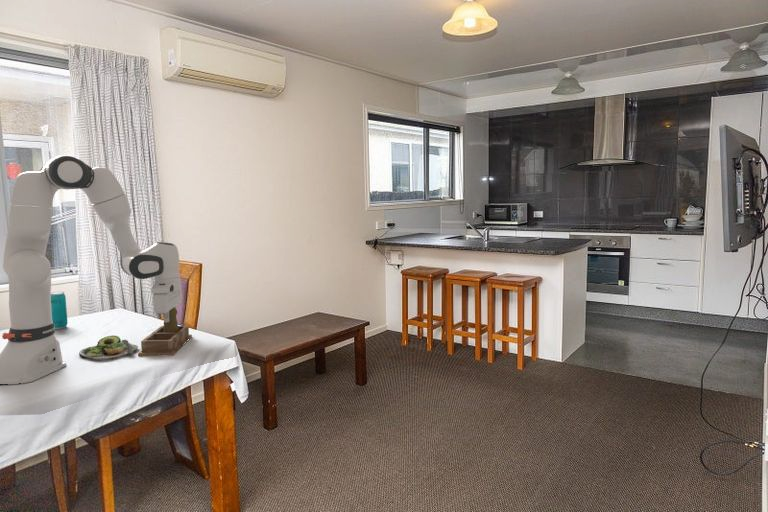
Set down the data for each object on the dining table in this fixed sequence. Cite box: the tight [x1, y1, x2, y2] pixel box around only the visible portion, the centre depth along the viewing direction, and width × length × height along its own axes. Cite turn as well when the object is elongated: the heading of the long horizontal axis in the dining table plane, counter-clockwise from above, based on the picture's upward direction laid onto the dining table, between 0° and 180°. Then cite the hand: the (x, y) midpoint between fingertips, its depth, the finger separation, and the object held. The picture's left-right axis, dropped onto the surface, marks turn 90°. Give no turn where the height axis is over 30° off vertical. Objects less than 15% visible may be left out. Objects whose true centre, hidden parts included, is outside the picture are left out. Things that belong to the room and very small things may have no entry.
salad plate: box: [78, 335, 139, 361], centre depth 178 cm, size 19×18×5 cm
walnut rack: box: [137, 325, 193, 357], centre depth 186 cm, size 22×12×5 cm, turn 4°
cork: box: [163, 307, 179, 333], centre depth 190 cm, size 6×6×11 cm
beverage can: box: [51, 291, 69, 330], centre depth 208 cm, size 6×6×15 cm
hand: (170, 319), depth 189 cm, fingers closed on cork, 4 cm apart
